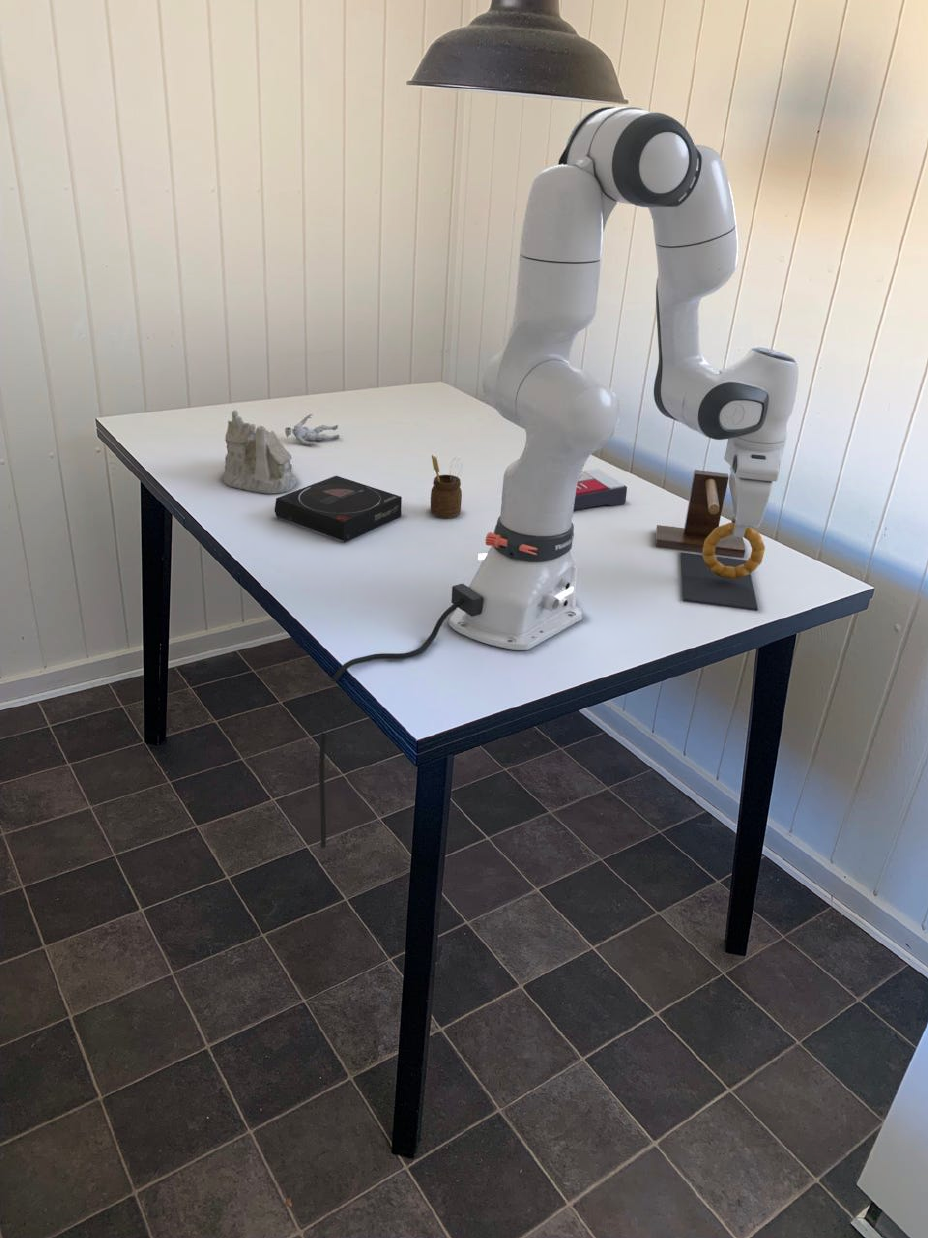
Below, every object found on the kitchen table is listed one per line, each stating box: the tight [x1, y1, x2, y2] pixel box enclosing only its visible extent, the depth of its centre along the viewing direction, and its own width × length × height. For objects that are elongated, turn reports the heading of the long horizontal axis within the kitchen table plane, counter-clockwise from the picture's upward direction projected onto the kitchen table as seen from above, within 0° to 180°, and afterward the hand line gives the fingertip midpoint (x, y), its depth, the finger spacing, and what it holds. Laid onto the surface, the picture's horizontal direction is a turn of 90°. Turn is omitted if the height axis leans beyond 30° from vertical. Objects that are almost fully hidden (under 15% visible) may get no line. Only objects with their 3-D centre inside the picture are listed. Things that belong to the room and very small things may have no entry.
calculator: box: [573, 468, 628, 511], centre depth 195 cm, size 11×4×15 cm
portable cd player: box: [273, 475, 403, 544], centre depth 179 cm, size 16×17×4 cm
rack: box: [655, 469, 746, 558], centre depth 171 cm, size 16×16×14 cm
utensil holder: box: [430, 454, 463, 519], centre depth 182 cm, size 6×6×12 cm
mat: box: [680, 551, 759, 611], centre depth 165 cm, size 19×12×1 cm, turn 170°
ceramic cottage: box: [222, 409, 297, 495], centre depth 193 cm, size 16×16×15 cm
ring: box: [701, 522, 766, 579], centre depth 162 cm, size 10×2×10 cm, turn 80°
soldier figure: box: [284, 413, 340, 446], centre depth 216 cm, size 8×5×12 cm
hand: (737, 531), depth 160 cm, fingers closed on ring, 2 cm apart
